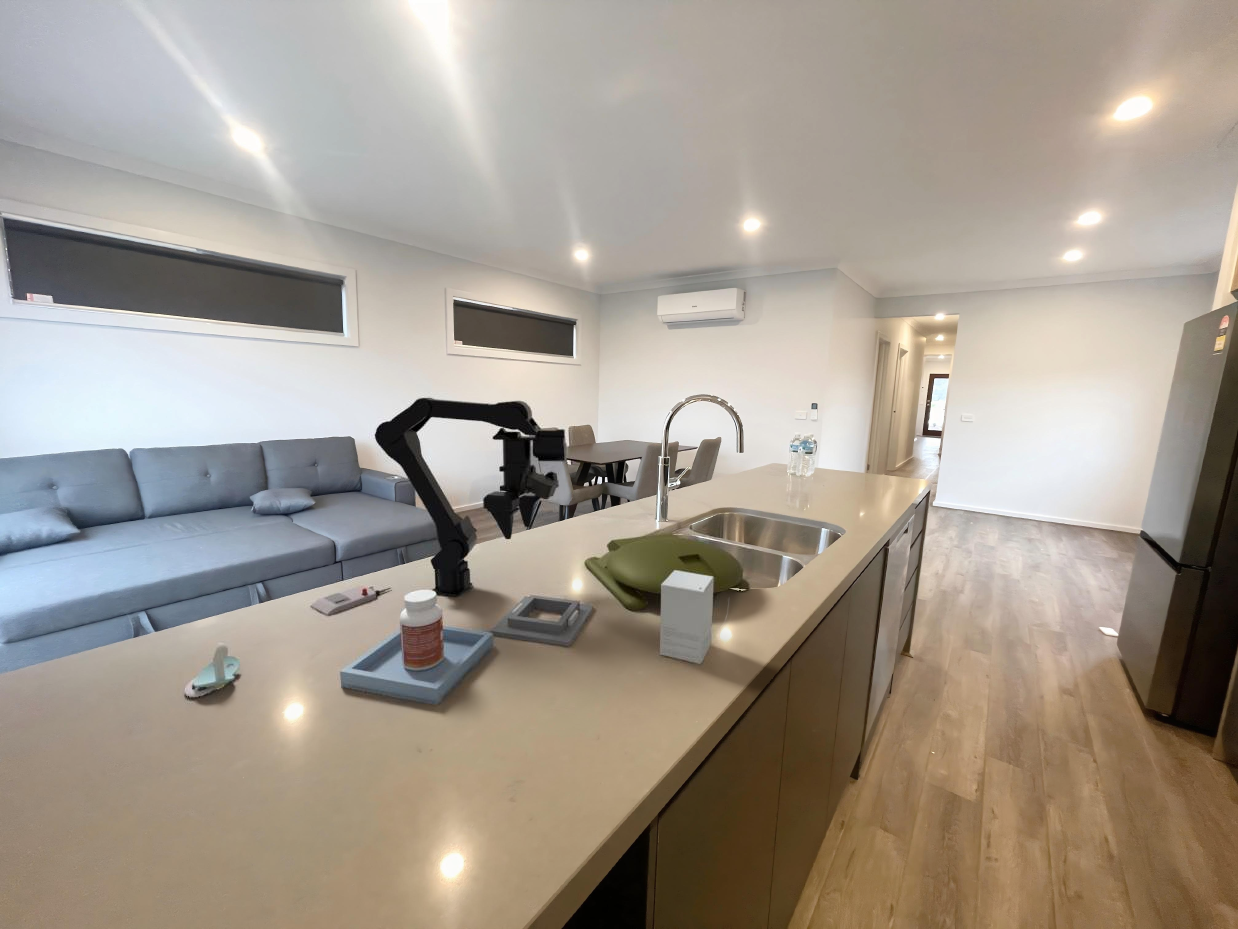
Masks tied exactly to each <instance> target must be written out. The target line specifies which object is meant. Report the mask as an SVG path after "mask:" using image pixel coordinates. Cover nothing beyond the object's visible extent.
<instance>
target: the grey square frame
mask: <svg viewBox="0 0 1238 929" xmlns="http://www.w3.org/2000/svg"><path fill="white" fill-rule="evenodd" d="M535 610H536V611H545V612H551V613H559V614H562V615H561V616H560V618H559V619H558V620H557V621H555V620H548V619H541V618H533V617H529V615H531V613H532V612H533V611H535ZM594 610H595V605H594V604H589V603H582V602H581V601H580V600H575V599H574V600H573V599H565V598H557V597H551V596H542V595H535V594H534V595H533V594H530V595H529V596H524V597H523V598H522V599H521V600H519V602H518V603H516V605H515V606H514V607H512V609H511V610H510V611H508V612H507V614H505V615H504V617H503V618H501V620H499V621H498V622H497V623H496V624H495V625H494V626H493V627H492V628H491V629H490V631H489V633H493V637H494V636H496V637H500V638H501V637H502V638H509V639H514V640H515V639H517V640H522V641H523V640H524V641H530V642H535V643H541V644H550V645H556V646H563V647H568V648H569V647H570V646H571V645H572V643H573V642H574V640H575V639H576V637H577V636H578V634H579V632H581V630H582V628H583V626H584V625H585V624H586V622H587V621H588V619H589V618H590V616H592V615H591V614H592V613H593V611H594Z"/></svg>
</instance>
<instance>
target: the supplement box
mask: <svg viewBox="0 0 1238 929" xmlns="http://www.w3.org/2000/svg"><path fill="white" fill-rule="evenodd" d="M713 581H714V577H713V576H706V575H700V574H694V573H688V572H683V571H677V570H674V571H673V572H672V574H671V575H670V576H669V577H668V578H667V579H666V580H665V581H664V582H663V583H662V584H661V594H660V626H659V627H660V628H659V629H660V630H659V631H660V633H659V635H660V636H659V637H660V638H659V641H660V642H659V651H660V652H659V655H661V656H666V657H670V658H673V659H678V660H682V661H686V662H689V663H693V664H697V665H701V664H702V663H703V661H704V659H705V657H706V656H707V653H708V651H709V649H710V647H711V645H712V630H713V629H712V628H713V606H714V605H713V604H714V602H713V601H714V593H713Z"/></svg>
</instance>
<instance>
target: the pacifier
mask: <svg viewBox="0 0 1238 929" xmlns="http://www.w3.org/2000/svg"><path fill="white" fill-rule="evenodd" d="M228 654H229V648H228V645H226V644H225V643H223V642H219V643H218V644H217V646H216V648H215V651H214V654H213V657H212V662H211V663H209V664H208V665H207V666H205V668H203V670H201V671H200V673H199V674H198V675H197V676H196V677H194V678H193V679H192V680H191V681H189V682H188V684H187V685H186V686H185V688H184V694H186V695H185V696H186V697H188V696H189V697H188V698H198V697H199V696H200V697H202V696H205V694H206V695H208V694H210V693H212V692H213V690H215V689H217V688H220V687H222V686H223V685H225V684H226V683H227V682H228V683H229V682H231V681H234V680H235V676H234V675H235V674H237V672H238V671H239V669H240V665H241V664H240V663H241V662H240V660H239V659H238V658H237V657H236V656H230V655H228ZM231 666H232V667H231ZM229 667H230V668H229ZM228 683H227V684H228ZM227 684H226V685H227ZM226 685H225V686H226ZM193 686H194V687H193ZM192 688H193V689H192ZM194 688H205V689H202V690H194ZM222 688H223V687H222ZM220 689H221V688H220ZM211 691H212V692H211ZM215 691H216V690H215ZM207 693H208V694H207Z"/></svg>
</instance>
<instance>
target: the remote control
mask: <svg viewBox="0 0 1238 929" xmlns="http://www.w3.org/2000/svg"><path fill="white" fill-rule="evenodd" d="M390 589H391V587H387V588H384V589H381V590H375V589H374V586H370V587H368V586H364V585H357V586H353V587H350V588H348V589H344V590H342V591H339V592H335V593H333V594H330V595H327V596H323V597H321V598H319V599H316V600H315V601H314V602H313V603H311V605H310V608H311V609H313V608H314V609H313V610H314V611H317V612H318V611H319V612H318V613H320V612H322V613H323V614H322V613H321V614H322V615H324V614H325V615H324V616H326V615H328V616H331V615H334V614H336V613H335V612H337V613H339V611H340V612H342V611H345V610H348V609H351V608H352V606H353V607H355V605H356V606H359V605H361V603H362V604H364V603H367V602H370V601H372V600H375V599H377V596H379V595H380V594H381V593H384V592H386V591H388V590H390ZM358 604H359V605H358ZM350 607H351V608H350ZM347 608H348V609H347ZM344 609H345V610H344ZM341 610H342V611H341ZM333 613H334V614H333ZM330 614H331V615H330Z"/></svg>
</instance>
